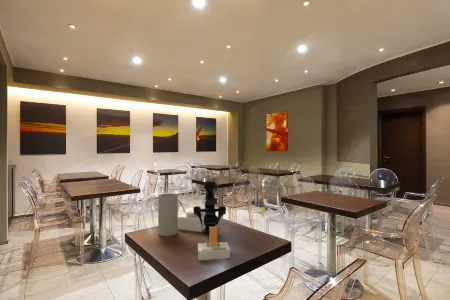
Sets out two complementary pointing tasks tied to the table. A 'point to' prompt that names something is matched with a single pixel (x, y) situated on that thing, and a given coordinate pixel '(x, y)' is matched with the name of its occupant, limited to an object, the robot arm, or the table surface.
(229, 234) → the table surface
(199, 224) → the butter dish
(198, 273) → the table surface
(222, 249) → the box
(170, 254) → the table surface
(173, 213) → the cylinder vase
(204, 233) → the robot arm
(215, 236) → the breaker lever
